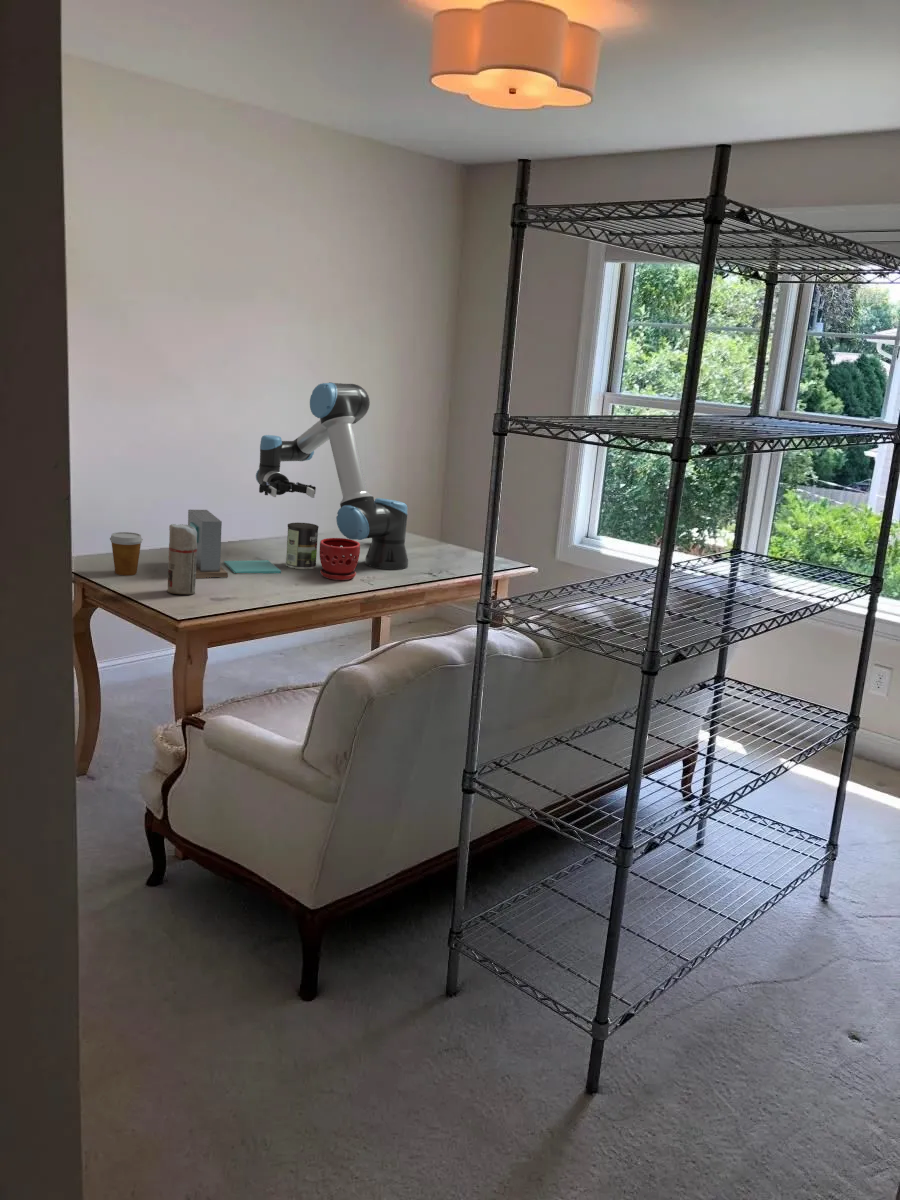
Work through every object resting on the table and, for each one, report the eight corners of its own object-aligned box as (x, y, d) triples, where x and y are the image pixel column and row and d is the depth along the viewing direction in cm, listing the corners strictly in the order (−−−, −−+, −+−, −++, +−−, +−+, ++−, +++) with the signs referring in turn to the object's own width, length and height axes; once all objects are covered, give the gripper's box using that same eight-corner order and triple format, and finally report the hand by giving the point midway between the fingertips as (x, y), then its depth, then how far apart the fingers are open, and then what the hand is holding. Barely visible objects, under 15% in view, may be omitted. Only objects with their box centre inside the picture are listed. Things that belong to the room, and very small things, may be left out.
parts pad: (280, 573, 321) (281, 570, 321) (235, 574, 315) (235, 571, 315) (267, 562, 334) (268, 560, 334) (223, 563, 328) (223, 560, 327)
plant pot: (310, 574, 324) (312, 538, 321) (344, 571, 332) (347, 536, 329) (330, 583, 314) (333, 546, 311) (365, 580, 322) (368, 545, 319)
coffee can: (320, 565, 338) (322, 524, 335) (310, 571, 328) (312, 529, 325) (291, 561, 340) (294, 521, 336) (280, 567, 330) (283, 525, 327)
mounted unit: (227, 577, 309) (229, 522, 305) (195, 578, 305) (197, 522, 300) (209, 560, 330) (211, 508, 325) (179, 560, 325) (180, 508, 321)
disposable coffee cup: (148, 572, 306) (149, 534, 303) (129, 578, 297) (129, 539, 294) (122, 568, 309) (123, 530, 306) (102, 573, 300) (103, 534, 297)
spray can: (169, 587, 291) (171, 521, 286) (197, 589, 292) (199, 523, 287) (163, 595, 283) (165, 526, 278) (193, 597, 284) (195, 528, 279)
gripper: (309, 494, 362) (328, 505, 344) (241, 492, 350) (258, 503, 332) (310, 473, 360) (329, 483, 342) (242, 471, 349) (259, 481, 330)
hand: (294, 493), depth 337 cm, fingers open, 13 cm apart
